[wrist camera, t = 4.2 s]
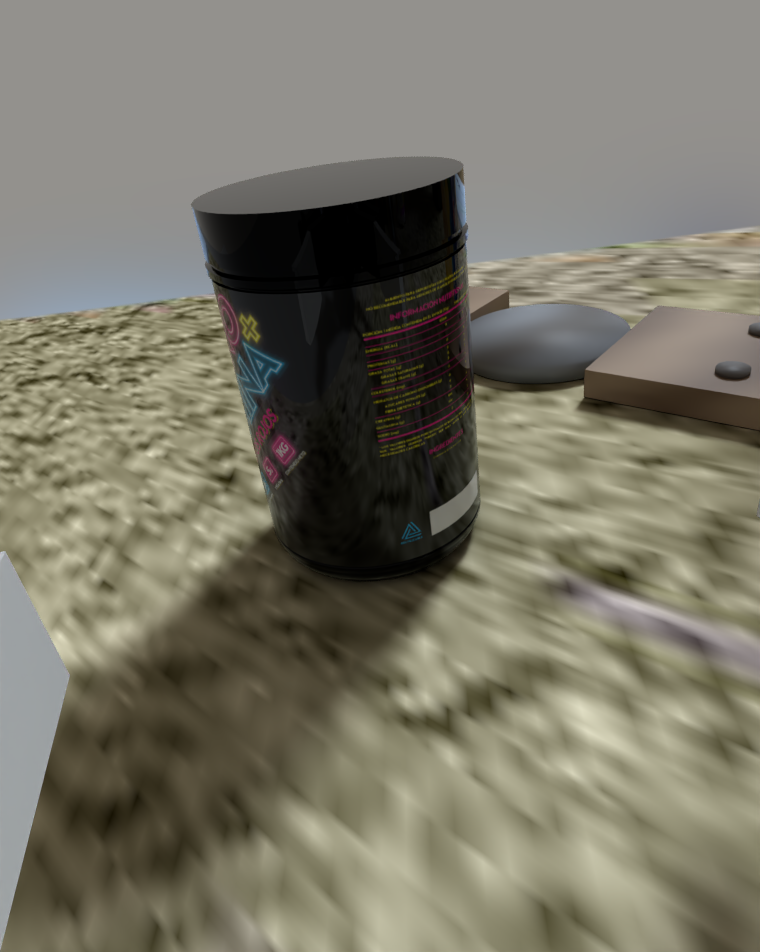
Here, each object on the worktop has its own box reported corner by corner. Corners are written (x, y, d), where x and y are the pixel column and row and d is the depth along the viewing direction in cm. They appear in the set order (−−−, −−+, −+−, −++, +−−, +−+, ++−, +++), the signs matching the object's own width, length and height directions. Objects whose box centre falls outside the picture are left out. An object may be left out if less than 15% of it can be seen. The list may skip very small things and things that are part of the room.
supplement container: (350, 454, 26) (301, 161, 21) (516, 489, 23) (508, 150, 17) (233, 557, 22) (130, 215, 16) (419, 620, 18) (369, 213, 13)
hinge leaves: (280, 339, 38) (275, 314, 38) (370, 294, 43) (367, 272, 43) (876, 452, 22) (887, 414, 21) (910, 361, 27) (920, 327, 26)
